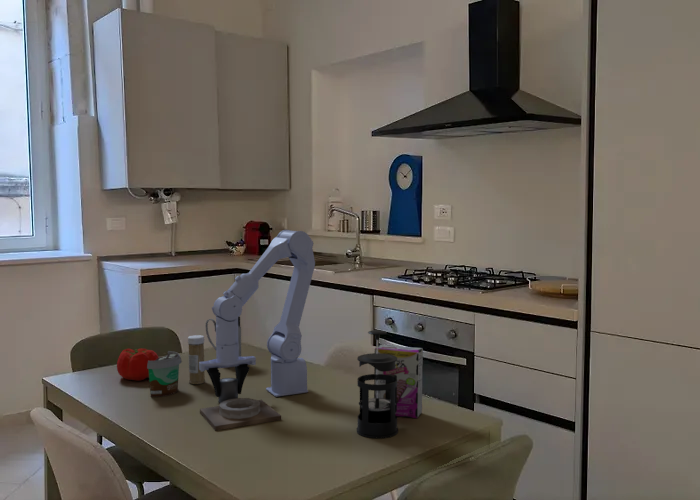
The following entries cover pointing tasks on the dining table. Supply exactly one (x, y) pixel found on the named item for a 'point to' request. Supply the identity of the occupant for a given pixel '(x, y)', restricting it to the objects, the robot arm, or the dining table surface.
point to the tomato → (135, 363)
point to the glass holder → (215, 331)
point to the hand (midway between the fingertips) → (228, 394)
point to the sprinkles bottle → (196, 359)
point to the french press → (377, 411)
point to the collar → (239, 413)
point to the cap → (228, 389)
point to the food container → (164, 374)
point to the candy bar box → (404, 379)
